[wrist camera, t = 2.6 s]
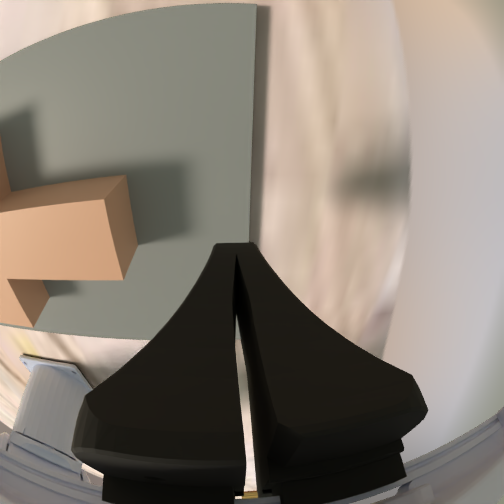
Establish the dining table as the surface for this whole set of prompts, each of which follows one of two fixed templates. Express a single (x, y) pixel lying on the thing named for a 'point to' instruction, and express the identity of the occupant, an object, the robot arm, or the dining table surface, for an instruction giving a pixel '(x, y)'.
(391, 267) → the dining table surface
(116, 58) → the board
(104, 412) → the robot arm
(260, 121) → the dining table surface
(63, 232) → the t block
